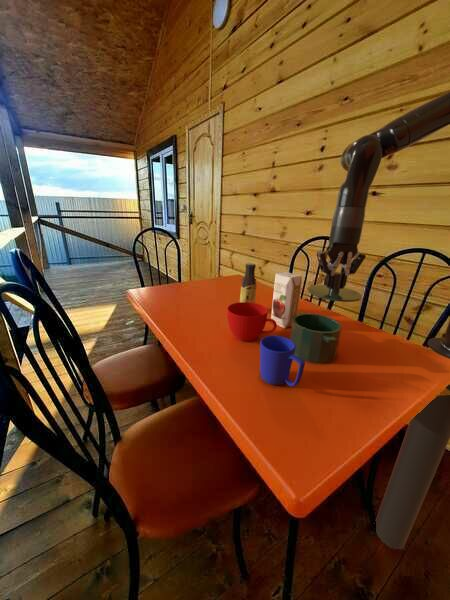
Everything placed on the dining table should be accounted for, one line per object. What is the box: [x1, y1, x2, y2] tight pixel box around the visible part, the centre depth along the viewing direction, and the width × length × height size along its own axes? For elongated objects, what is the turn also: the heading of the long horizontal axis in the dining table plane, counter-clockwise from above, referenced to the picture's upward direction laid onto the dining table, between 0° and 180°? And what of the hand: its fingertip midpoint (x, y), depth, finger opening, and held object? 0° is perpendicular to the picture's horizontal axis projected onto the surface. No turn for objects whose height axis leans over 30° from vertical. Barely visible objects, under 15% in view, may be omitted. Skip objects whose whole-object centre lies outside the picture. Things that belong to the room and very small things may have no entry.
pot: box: [289, 311, 343, 364], centre depth 76 cm, size 14×19×10 cm
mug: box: [259, 335, 306, 387], centre depth 61 cm, size 8×12×10 cm
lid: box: [307, 271, 363, 303], centre depth 72 cm, size 15×15×7 cm
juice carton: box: [270, 271, 303, 329], centre depth 93 cm, size 8×9×19 cm
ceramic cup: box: [226, 301, 278, 342], centre depth 82 cm, size 13×17×10 cm
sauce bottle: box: [239, 262, 257, 303], centre depth 104 cm, size 6×6×20 cm
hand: (334, 287), depth 73 cm, fingers closed on lid, 3 cm apart
